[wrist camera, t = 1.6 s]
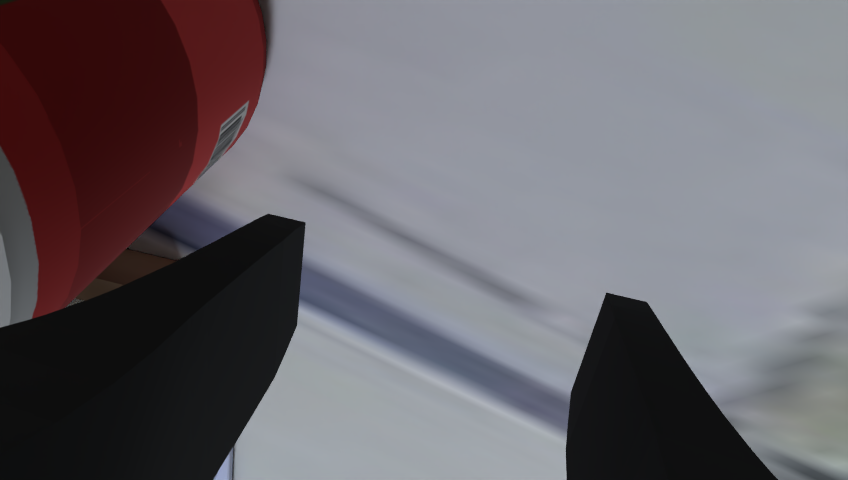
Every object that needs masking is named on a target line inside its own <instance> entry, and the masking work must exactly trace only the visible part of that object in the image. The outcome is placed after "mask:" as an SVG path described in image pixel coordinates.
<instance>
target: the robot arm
mask: <svg viewBox="0 0 848 480" xmlns="http://www.w3.org/2000/svg"><path fill="white" fill-rule="evenodd" d="M304 234H305V222H301V221H297V220H292V219H288V218H284V217H280V216H275V215H271V214H267V215H265V216H263V217H260V218H258V219H256V220H254V221H252V222H251V223H249V224H247V225H245V226H243V227H241V228H239V229H237V230H235V231H234V232H232V233H230V234H228V235H226V236H224V237H222V238H220V239H219V240H217V241H215V242H213V243H211V244H209V245H207V246H205V247H203V248H201V249H199V250H197V251H195V252H193V253H191V254H189V255H188V256H186V257H184V258H182V259H180V260H178V261H176V262H174V263H172V264H169V265H167V266H165V267H163V268H161V269H158V270H156V271H154V272H152V273H150V274H147V275H145V276H143V277H141V278H138V279H136V280H134V281H132V282H130V283H127V284H125V285H123V286H121V287H119V288H116V289H114V290H111V291H109V292H106V293H104V294H101V295H99V296H96V297H94V298H91V299H88V300H86V301H83V302H80V303H77V304H75V305H72V306H69V307H66V308H63V309H60V310H57V311H54V312H51V313H49V314H46V315H42V316H39V317H36V318H33V319H29V320H26V321H22V322H19V323H15V324H11V325H8V326H4V327H0V480H232V463H233V446H234V444H235V443H236V441H237V439H238V438H239V436H240V434H241V433H242V431H243V429H244V428H245V426H246V425H247V423H248V421H249V420H250V418H251V416H252V415H253V413H254V411H255V410H256V408H257V406H258V404H259V403H260V401H261V399H262V398H263V396H264V394H265V393H266V391H267V389H268V388H269V386H270V384H271V382H272V381H273V379H274V377H275V375H276V373H277V371H278V368H279V366H280V364H281V362H282V359H283V357H284V355H285V353H286V350H287V348H288V345H289V343H290V341H291V338H292V336H293V333H294V331H295V329H296V326H297V318H298V306H299V294H300V282H301V270H302V258H303V246H304ZM566 470H567V480H778V479H777V478H776V477H775V476H774V475H773V474H772V473H771V472H770V471H769V469H768V468H767V467H766V466H765V465H764V464H763V463H762V461H761V460H760V459H759V458H758V457H757V456H756V454H755V453H754V452H753V451H752V450H751V448H750V447H749V446H748V445H747V443H746V442H745V441H744V440H743V438H742V437H741V436H740V435H739V433H738V432H737V431H736V430H735V428H734V427H733V426H732V425H731V423H730V422H729V421H728V420H727V418H726V417H725V416H724V415H723V413H722V412H721V411H720V409H719V408H718V407H717V405H716V404H715V402H714V401H713V400H712V398H711V397H710V396H709V394H708V393H707V392H706V390H705V389H704V387H703V386H702V384H701V383H700V382H699V380H698V379H697V377H696V376H695V374H694V373H693V372H692V370H691V369H690V367H689V366H688V364H687V363H686V361H685V360H684V358H683V357H682V355H681V354H680V352H679V351H678V349H677V348H676V346H675V345H674V343H673V342H672V340H671V338H670V337H669V335H668V334H667V332H666V331H665V329H664V328H663V326H662V324H661V323H660V321H659V320H658V318H657V317H656V315H655V314H654V312H653V311H652V309H651V308H650V306H649V305H648V303H647V302H644V301H640V300H635V299H631V298H627V297H623V296H618V295H614V294H610V293H606V295H605V298H604V301H603V304H602V307H601V310H600V312H599V315H598V318H597V321H596V324H595V326H594V329H593V332H592V335H591V338H590V340H589V343H588V346H587V349H586V352H585V355H584V357H583V360H582V363H581V366H580V369H579V371H578V374H577V377H576V380H575V383H574V386H573V388H572V391H571V398H570V408H569V419H568V430H567V442H566Z"/></svg>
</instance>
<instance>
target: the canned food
mask: <svg viewBox="0 0 848 480" xmlns="http://www.w3.org/2000/svg"><path fill="white" fill-rule="evenodd" d="M265 68H266V35H265V29H264V22H263V16H262V11H261V8H260V5H259V2H258V0H0V327H4V326H8V325H11V324H15V323H19V322H22V321H26V320H29V319H33V318H36V317H39V316H42V315H46V314H49V313H51V312H54V311H57V310H60V309H63V308H65V307H66V306H67V305H68V304H69V303H70V302H71V301H72V300H73V299H74V298H75V297H77V296H78V295H79V294H80V293H81V292H82V291H83V290H84V289H85V288H86V287H87V286H88V285H89V284H90V283H91V282H92V281H93V280H94V279H95V278H96V277H97V276H98V275H99V274H100V273H101V272H102V271H103V270H105V269H106V268H107V267H108V266H109V265H110V264H111V263H112V262H113V261H114V260H115V259H116V258H117V257H118V256H119V255H120V254H121V253H122V252H123V251H124V250H125V249H126V248H127V247H128V246H129V245H130V244H131V243H133V242H134V241H135V240H136V239H137V238H138V237H139V236H140V235H141V234H142V233H143V232H144V231H145V230H146V229H147V228H148V227H149V226H150V225H151V224H152V223H153V222H154V221H155V220H156V219H157V218H158V217H159V216H161V215H162V214H163V213H164V212H165V211H166V210H167V209H168V208H169V207H170V206H171V205H172V204H173V203H174V202H175V201H176V200H177V199H178V198H179V197H180V196H181V195H182V194H183V193H184V192H185V191H186V190H188V189H189V188H190V187H191V186H192V185H193V184H194V183H195V182H196V181H197V180H198V179H199V178H200V177H201V176H202V175H203V174H204V173H205V172H206V171H207V170H208V169H209V168H210V167H211V166H212V165H213V164H214V163H216V162H217V161H218V160H219V159H220V158H221V157H222V156H223V155H224V154H225V153H226V152H227V151H228V150H229V149H230V148H231V147H232V146H233V145H234V144H235V142H236V141H237V140H238V138H239V137H240V136H241V134H242V133H243V132H244V130H245V129H246V128H247V126H248V124H249V122H250V120H251V117H252V115H253V113H254V111H255V108H256V106H257V104H258V100H259V96H260V92H261V87H262V82H263V78H264V73H265Z"/></svg>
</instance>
